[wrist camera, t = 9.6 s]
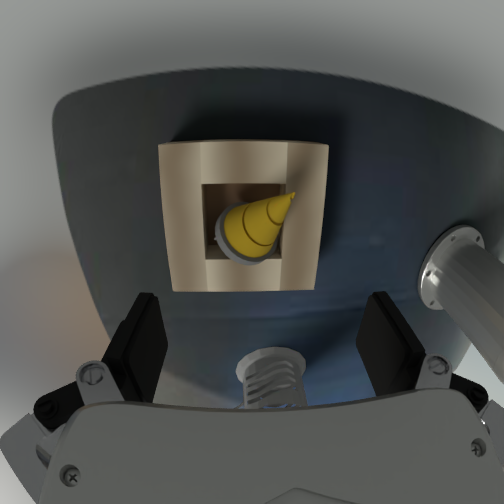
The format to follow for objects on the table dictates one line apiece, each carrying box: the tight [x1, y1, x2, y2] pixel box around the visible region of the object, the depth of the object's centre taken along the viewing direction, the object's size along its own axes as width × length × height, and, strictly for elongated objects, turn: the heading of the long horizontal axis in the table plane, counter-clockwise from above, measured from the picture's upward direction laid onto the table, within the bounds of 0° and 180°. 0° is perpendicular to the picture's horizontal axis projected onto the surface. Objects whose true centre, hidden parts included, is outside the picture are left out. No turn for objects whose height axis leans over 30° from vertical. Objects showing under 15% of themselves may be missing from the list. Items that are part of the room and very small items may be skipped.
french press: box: [234, 347, 308, 409], centre depth 24 cm, size 10×12×25 cm
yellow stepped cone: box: [214, 192, 295, 266], centre depth 22 cm, size 5×5×10 cm
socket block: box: [158, 139, 329, 291], centre depth 24 cm, size 13×13×4 cm
